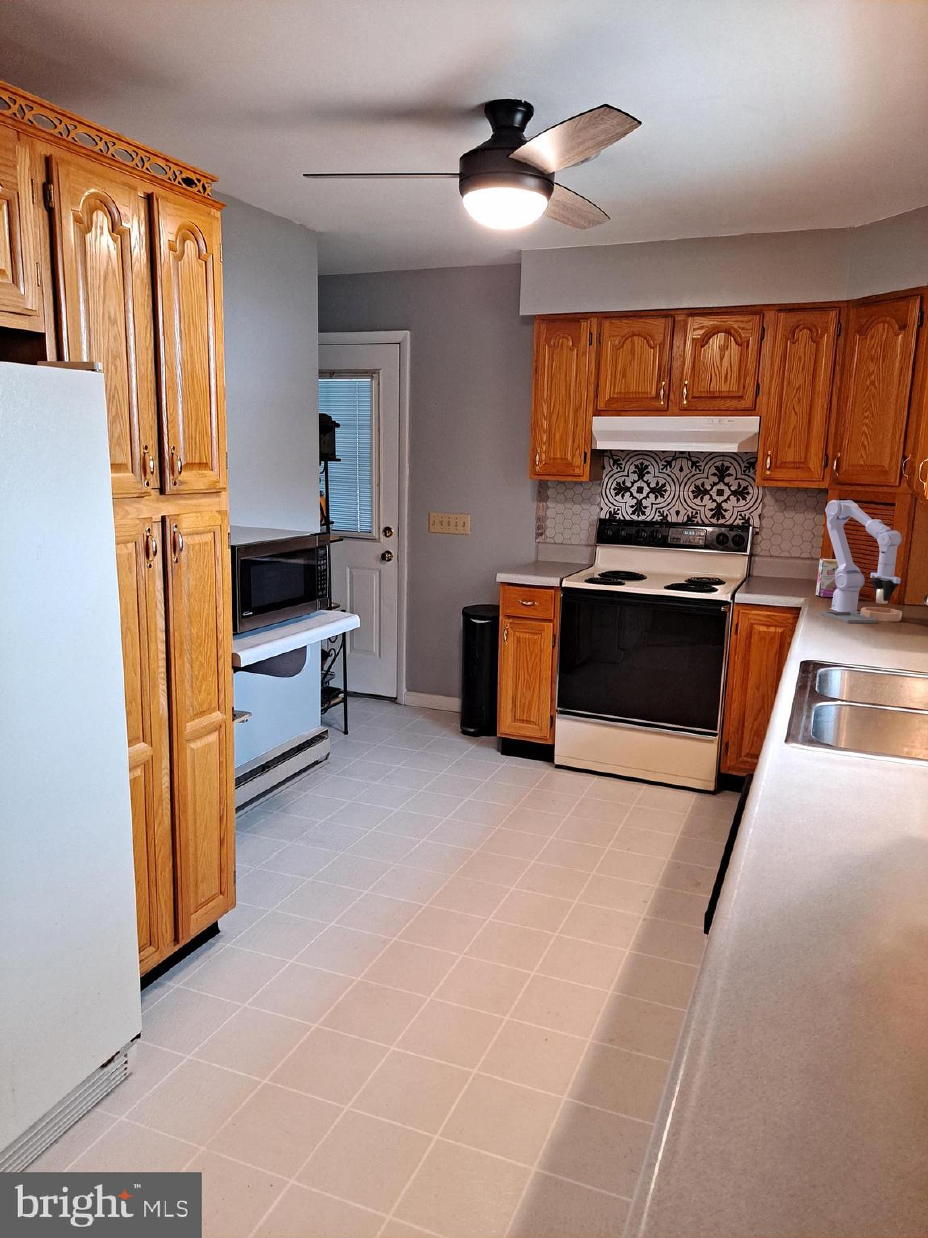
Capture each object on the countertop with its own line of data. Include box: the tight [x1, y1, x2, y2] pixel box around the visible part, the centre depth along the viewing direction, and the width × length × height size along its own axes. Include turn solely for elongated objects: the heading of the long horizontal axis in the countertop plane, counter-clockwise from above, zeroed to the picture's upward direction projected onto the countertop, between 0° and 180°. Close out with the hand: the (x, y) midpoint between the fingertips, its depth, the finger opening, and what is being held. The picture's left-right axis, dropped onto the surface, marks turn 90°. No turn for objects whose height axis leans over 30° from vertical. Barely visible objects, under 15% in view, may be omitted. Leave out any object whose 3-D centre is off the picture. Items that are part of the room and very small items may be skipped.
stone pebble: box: [875, 589, 889, 605], centre depth 331 cm, size 4×4×5 cm
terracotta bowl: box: [859, 606, 903, 622], centre depth 332 cm, size 13×13×4 cm
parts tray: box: [821, 611, 878, 624], centre depth 329 cm, size 16×12×2 cm
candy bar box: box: [815, 558, 839, 598], centre depth 382 cm, size 11×5×16 cm, turn 84°
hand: (882, 599), depth 331 cm, fingers closed on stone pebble, 4 cm apart
